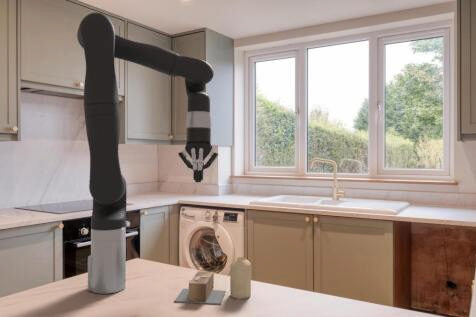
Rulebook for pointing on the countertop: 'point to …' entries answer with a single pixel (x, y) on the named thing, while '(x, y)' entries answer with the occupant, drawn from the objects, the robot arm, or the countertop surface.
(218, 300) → the mat
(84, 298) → the countertop surface
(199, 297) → the tan rectangular block
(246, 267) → the candle
